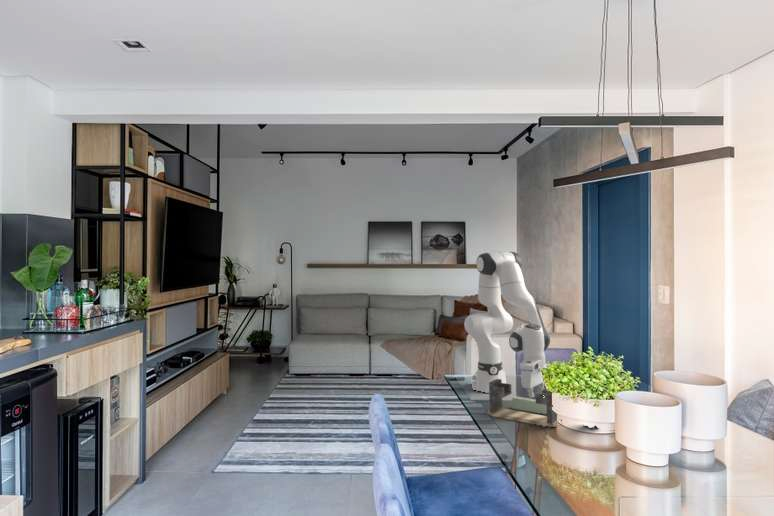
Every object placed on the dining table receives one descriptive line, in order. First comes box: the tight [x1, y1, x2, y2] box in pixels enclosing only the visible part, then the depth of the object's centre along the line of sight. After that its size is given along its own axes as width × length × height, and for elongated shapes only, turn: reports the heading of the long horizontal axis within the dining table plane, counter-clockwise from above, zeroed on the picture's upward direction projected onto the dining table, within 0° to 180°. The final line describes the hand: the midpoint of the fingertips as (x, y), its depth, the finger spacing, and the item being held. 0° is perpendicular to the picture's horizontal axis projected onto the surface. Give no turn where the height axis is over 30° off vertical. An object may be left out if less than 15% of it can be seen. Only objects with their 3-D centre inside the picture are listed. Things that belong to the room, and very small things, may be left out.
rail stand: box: [487, 379, 557, 428], centre depth 206 cm, size 29×8×14 cm, turn 50°
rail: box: [511, 395, 547, 415], centre depth 215 cm, size 20×3×5 cm, turn 51°
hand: (536, 394), depth 214 cm, fingers open, 8 cm apart
